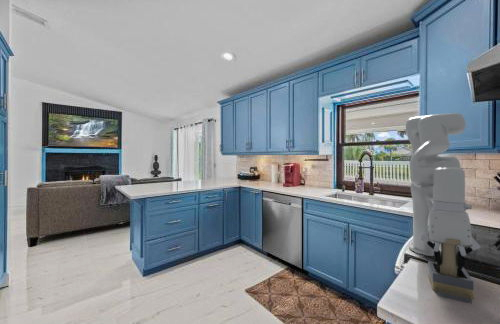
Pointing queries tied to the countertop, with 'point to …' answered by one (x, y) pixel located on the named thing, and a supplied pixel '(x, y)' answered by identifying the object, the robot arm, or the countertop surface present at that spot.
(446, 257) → the handle
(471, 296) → the open grey tray
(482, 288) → the countertop surface
